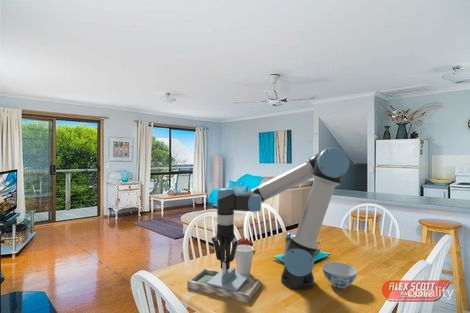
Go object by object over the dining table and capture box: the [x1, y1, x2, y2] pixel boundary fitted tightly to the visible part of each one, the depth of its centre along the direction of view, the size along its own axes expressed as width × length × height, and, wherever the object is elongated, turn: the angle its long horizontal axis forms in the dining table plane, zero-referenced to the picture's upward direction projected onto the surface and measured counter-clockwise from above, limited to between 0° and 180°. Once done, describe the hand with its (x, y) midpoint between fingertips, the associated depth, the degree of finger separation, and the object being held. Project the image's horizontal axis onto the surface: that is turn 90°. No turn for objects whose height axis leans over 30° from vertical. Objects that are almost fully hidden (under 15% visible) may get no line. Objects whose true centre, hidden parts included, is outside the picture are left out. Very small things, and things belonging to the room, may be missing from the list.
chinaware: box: [321, 261, 358, 289], centre depth 125 cm, size 15×15×8 cm
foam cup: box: [234, 245, 254, 276], centre depth 135 cm, size 10×9×13 cm
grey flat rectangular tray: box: [186, 268, 261, 304], centre depth 122 cm, size 29×15×3 cm, turn 66°
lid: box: [207, 266, 250, 292], centre depth 121 cm, size 14×15×4 cm
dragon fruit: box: [237, 237, 254, 247], centre depth 168 cm, size 8×8×12 cm
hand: (225, 276), depth 121 cm, fingers closed
